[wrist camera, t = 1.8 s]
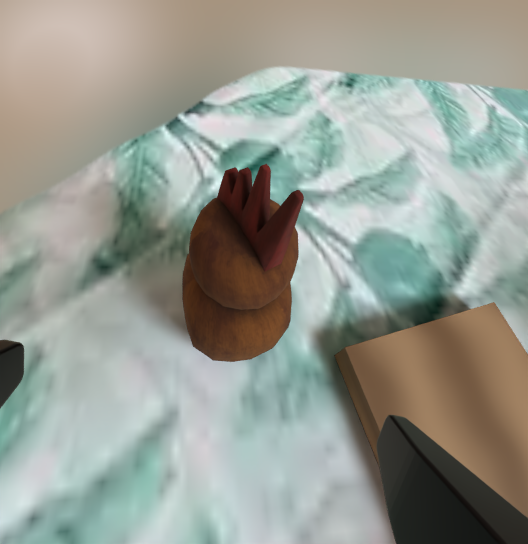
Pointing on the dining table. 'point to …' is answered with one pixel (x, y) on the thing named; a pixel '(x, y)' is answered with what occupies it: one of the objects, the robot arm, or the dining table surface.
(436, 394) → the light brown wooden stand
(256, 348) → the wooden figurine
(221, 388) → the dining table surface
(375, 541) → the dining table surface
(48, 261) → the dining table surface
